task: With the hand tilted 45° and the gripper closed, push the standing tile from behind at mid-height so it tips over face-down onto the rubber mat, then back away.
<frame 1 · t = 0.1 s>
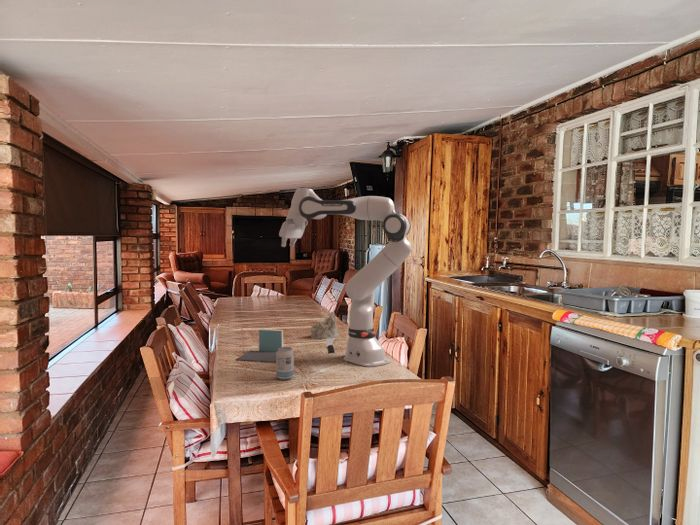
hand: (287, 246, 215), 52 cm above the table, tool tilted 20°, fingers open, 8 cm apart
beverage can: (285, 378, 177), on the table
jagged grey rock: (325, 336, 252), on the table
kitchen cleaver: (326, 347, 230), on the table
mat: (263, 357, 208), on the table
tile: (271, 351, 218), on the table
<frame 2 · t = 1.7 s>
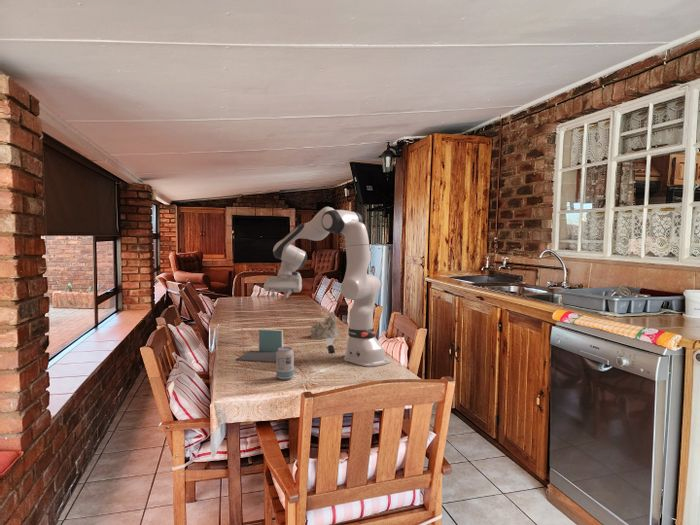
hand: (279, 297, 228), 25 cm above the table, tool tilted 45°, fingers open, 6 cm apart
nothing on the table moved.
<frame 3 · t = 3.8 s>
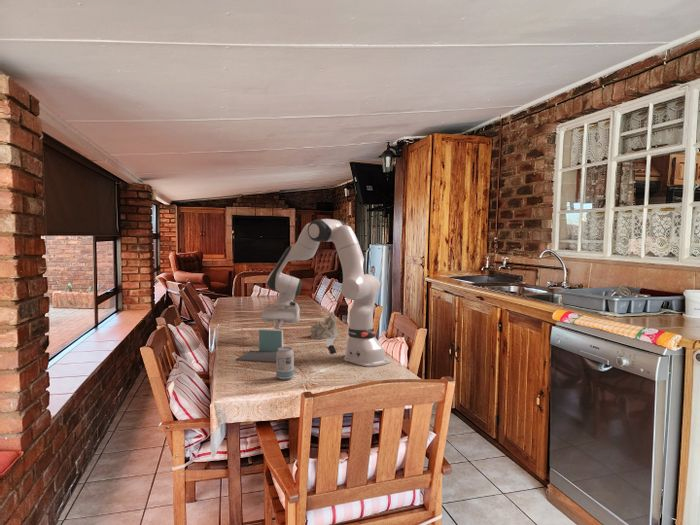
hand: (276, 328, 226), 10 cm above the table, tool tilted 45°, fingers closed
nothing on the table moved.
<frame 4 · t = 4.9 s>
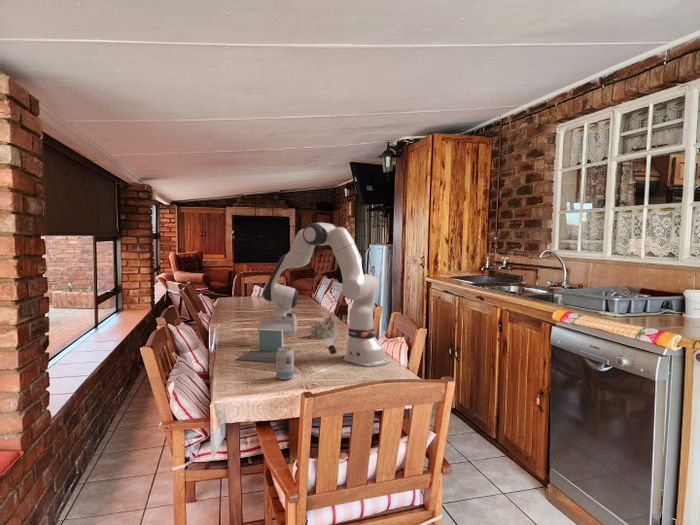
hand: (274, 340, 221), 5 cm above the table, tool tilted 45°, fingers closed
jagged grey rock: (324, 336, 252), on the table, touching kitchen cleaver
kitchen cleaver: (327, 347, 229), on the table, touching jagged grey rock
everything else where it was.
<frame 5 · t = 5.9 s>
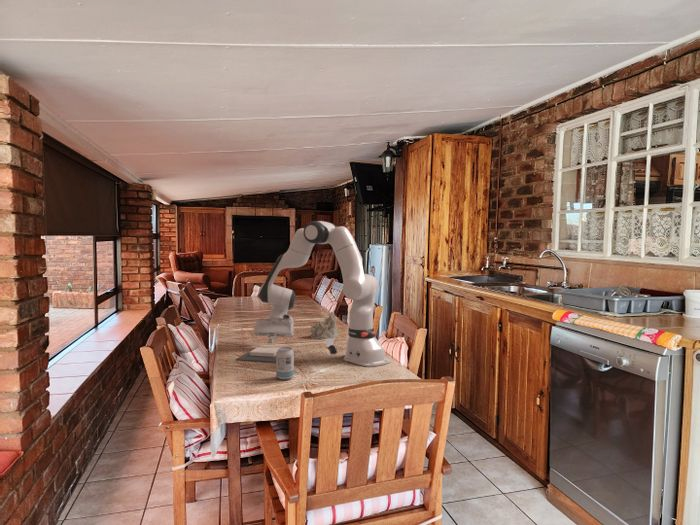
hand: (270, 342, 216), 5 cm above the table, tool tilted 45°, fingers closed
tile: (270, 348, 217), point 2 cm above the table, tilted 90°, touching mat
everything else where it was.
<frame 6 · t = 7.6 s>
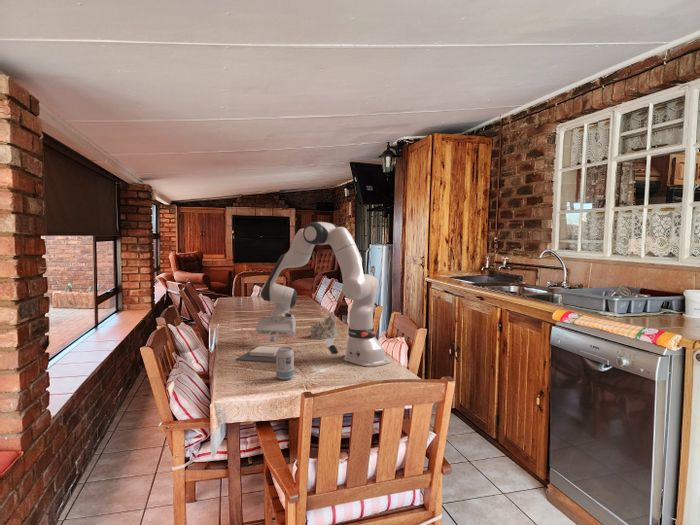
hand: (272, 340, 220), 5 cm above the table, tool tilted 45°, fingers closed
jagged grey rock: (324, 336, 253), on the table
kitchen cleaver: (328, 347, 229), on the table
everything else where it was.
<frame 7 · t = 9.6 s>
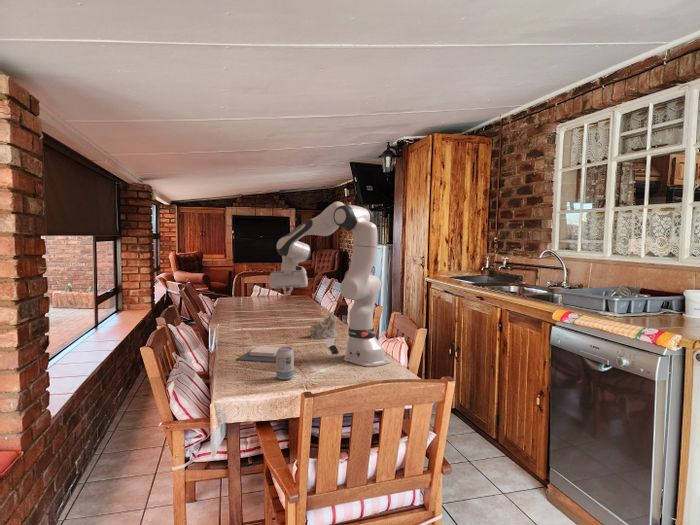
hand: (287, 295, 227), 27 cm above the table, tool tilted 30°, fingers closed
nothing on the table moved.
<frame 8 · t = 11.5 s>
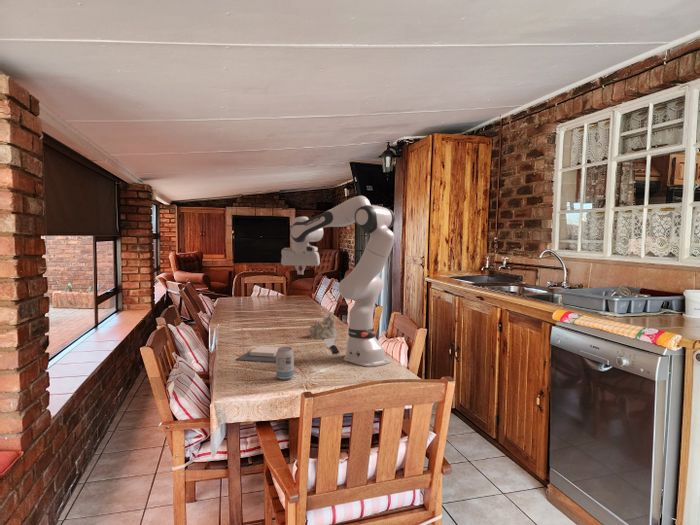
hand: (300, 274, 230), 37 cm above the table, tool pointing down, fingers closed
nothing on the table moved.
at the end: tile tilted 90°; tile touching mat; tile 9.2 cm from the mat (horizontally) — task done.
